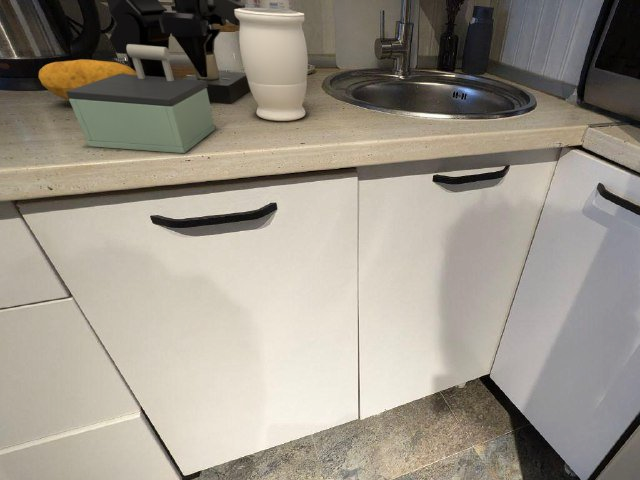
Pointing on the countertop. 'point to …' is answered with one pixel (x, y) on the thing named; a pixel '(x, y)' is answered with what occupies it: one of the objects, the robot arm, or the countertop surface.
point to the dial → (210, 68)
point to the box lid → (141, 82)
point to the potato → (78, 74)
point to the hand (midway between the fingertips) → (207, 74)
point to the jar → (274, 60)
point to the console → (226, 86)
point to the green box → (145, 123)
